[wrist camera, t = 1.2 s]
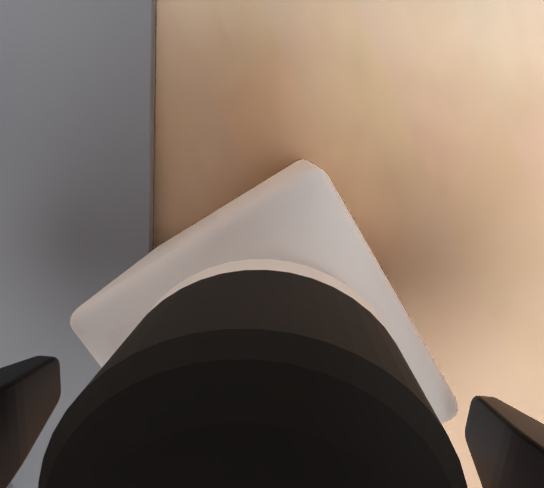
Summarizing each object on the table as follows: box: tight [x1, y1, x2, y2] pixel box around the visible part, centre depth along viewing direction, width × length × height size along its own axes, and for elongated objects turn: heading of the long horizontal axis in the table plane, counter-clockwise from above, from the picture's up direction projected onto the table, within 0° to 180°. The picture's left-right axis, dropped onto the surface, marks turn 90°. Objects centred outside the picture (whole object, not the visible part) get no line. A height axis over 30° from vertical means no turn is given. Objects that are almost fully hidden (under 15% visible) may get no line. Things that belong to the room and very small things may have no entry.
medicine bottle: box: [38, 159, 467, 488], centre depth 11 cm, size 7×7×12 cm
